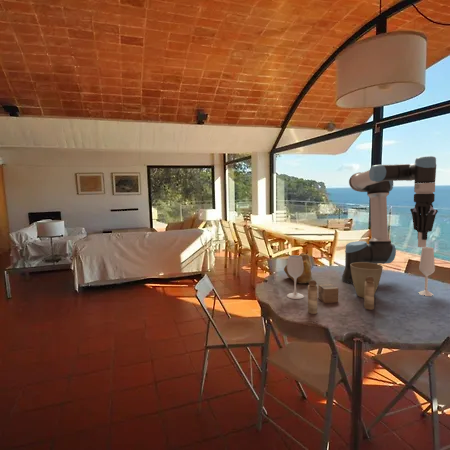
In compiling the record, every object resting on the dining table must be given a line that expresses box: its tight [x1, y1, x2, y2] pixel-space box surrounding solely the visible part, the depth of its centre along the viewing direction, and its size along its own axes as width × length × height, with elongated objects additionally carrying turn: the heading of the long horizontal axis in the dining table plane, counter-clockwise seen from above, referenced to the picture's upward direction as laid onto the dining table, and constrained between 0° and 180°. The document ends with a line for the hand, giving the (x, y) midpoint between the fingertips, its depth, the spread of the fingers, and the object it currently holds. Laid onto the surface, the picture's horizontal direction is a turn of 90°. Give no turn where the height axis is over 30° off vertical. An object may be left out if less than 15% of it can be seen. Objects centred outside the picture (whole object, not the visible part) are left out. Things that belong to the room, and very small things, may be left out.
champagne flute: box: [417, 246, 436, 297], centre depth 152 cm, size 7×7×24 cm
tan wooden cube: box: [317, 283, 339, 304], centre depth 148 cm, size 7×7×7 cm
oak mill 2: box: [363, 276, 375, 311], centre depth 136 cm, size 4×4×15 cm
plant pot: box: [350, 262, 384, 299], centre depth 152 cm, size 15×15×16 cm
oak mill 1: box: [307, 279, 318, 315], centre depth 133 cm, size 4×4×15 cm
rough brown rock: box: [283, 253, 313, 284], centre depth 184 cm, size 23×17×15 cm
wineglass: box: [286, 255, 305, 300], centre depth 154 cm, size 9×9×21 cm
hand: (421, 246), depth 132 cm, fingers closed
